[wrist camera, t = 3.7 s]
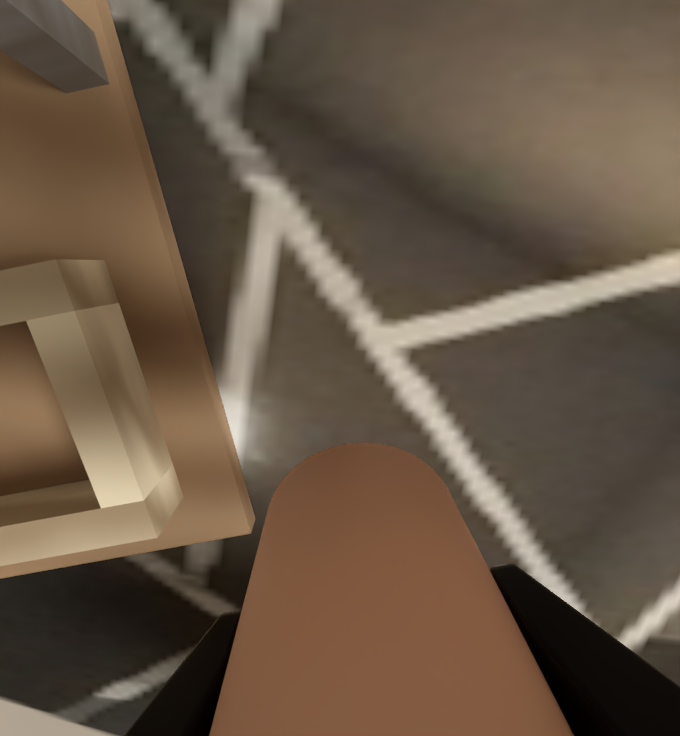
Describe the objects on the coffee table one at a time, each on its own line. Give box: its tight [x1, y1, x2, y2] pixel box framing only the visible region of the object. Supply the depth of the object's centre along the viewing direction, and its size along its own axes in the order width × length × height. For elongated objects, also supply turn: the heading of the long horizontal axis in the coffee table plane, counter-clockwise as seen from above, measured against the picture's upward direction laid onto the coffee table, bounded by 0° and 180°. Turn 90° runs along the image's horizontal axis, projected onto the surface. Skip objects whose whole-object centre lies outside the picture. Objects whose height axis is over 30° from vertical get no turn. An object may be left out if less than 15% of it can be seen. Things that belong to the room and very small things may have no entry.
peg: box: [209, 443, 574, 736], centre depth 5 cm, size 4×4×8 cm
